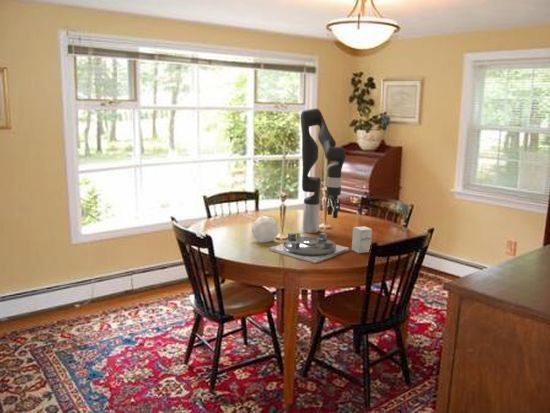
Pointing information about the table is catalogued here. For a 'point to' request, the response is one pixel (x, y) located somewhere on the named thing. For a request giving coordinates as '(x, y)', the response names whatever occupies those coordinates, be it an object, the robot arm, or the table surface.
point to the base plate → (309, 258)
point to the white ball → (265, 229)
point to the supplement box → (361, 239)
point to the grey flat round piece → (309, 244)
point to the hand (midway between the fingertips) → (332, 216)
